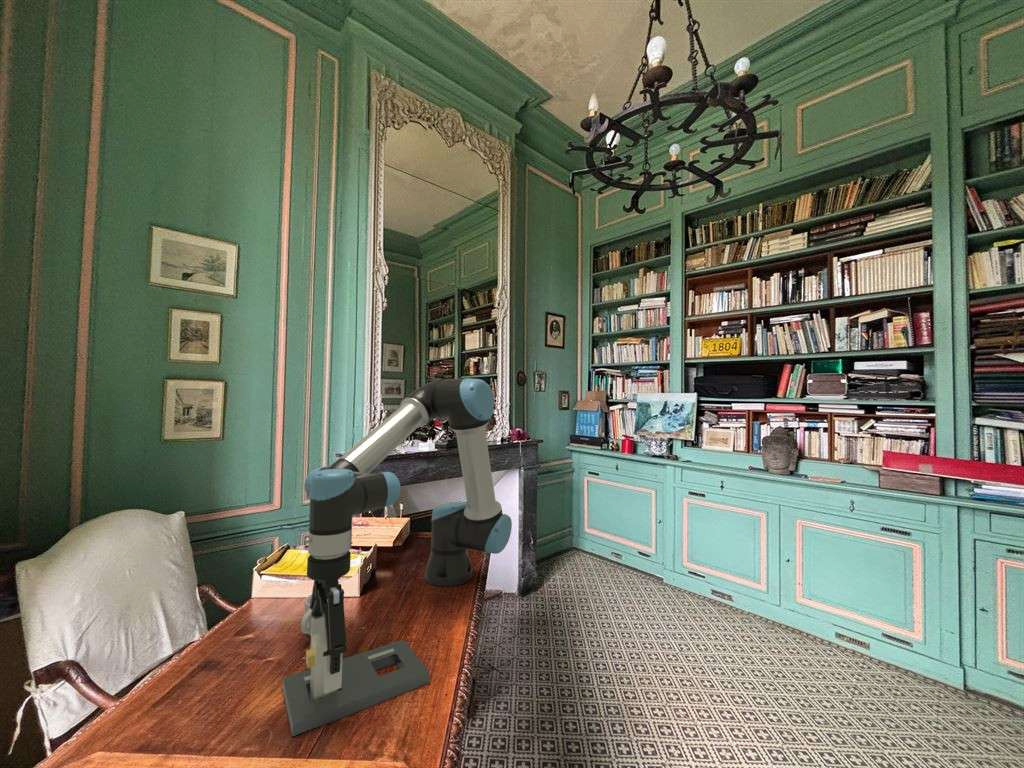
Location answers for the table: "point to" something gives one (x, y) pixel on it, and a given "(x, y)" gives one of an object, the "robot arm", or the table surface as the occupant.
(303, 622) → the cup
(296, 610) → the table surface
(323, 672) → the plug
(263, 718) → the table surface
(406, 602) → the table surface
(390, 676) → the panel
